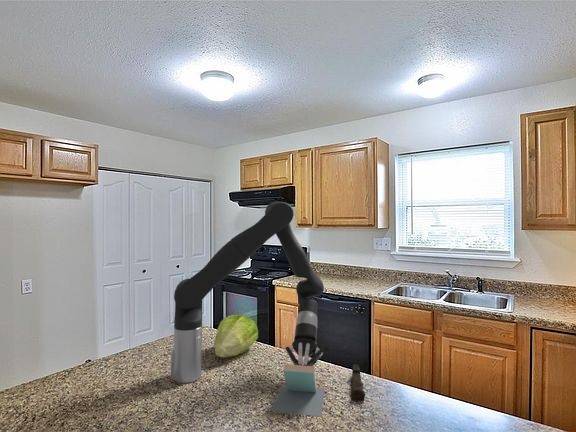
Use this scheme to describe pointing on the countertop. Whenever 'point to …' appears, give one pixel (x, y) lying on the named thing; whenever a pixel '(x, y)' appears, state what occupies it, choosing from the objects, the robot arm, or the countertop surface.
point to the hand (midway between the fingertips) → (301, 378)
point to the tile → (300, 378)
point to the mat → (299, 402)
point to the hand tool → (357, 385)
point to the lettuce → (235, 335)
